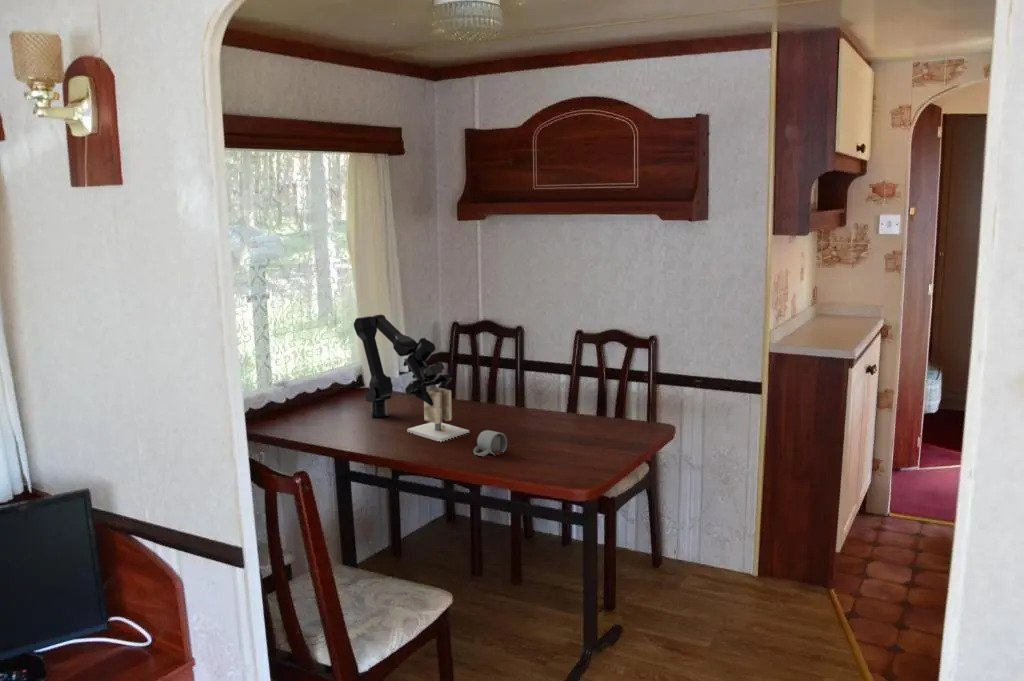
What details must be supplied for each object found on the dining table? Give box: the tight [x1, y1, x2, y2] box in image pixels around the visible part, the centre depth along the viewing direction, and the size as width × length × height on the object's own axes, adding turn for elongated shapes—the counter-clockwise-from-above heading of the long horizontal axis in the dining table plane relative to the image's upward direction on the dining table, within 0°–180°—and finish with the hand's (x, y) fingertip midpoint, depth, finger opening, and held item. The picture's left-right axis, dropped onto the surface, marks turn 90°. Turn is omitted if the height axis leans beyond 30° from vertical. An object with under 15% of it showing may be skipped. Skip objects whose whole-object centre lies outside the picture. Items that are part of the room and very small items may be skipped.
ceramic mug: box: [473, 429, 508, 457], centre depth 286 cm, size 11×8×8 cm
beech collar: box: [423, 387, 453, 424], centre depth 308 cm, size 7×7×11 cm
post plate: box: [406, 422, 470, 443], centre depth 309 cm, size 18×14×5 cm
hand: (440, 403), depth 307 cm, fingers closed on beech collar, 7 cm apart
